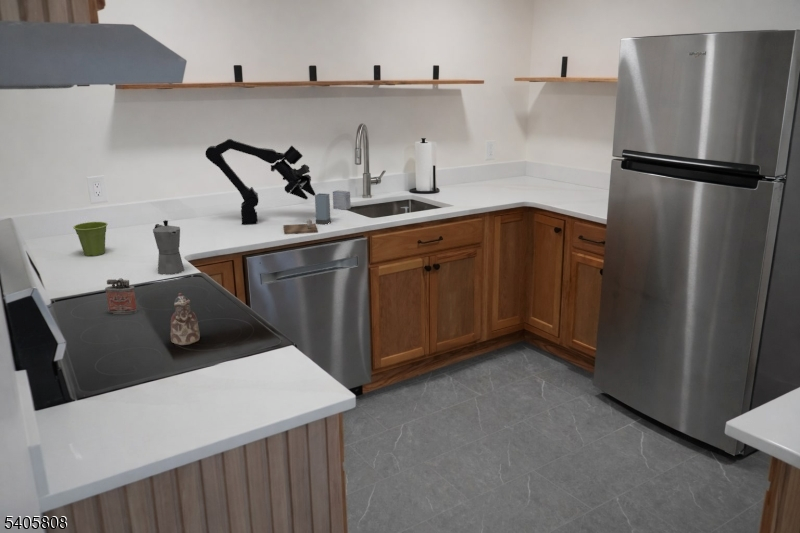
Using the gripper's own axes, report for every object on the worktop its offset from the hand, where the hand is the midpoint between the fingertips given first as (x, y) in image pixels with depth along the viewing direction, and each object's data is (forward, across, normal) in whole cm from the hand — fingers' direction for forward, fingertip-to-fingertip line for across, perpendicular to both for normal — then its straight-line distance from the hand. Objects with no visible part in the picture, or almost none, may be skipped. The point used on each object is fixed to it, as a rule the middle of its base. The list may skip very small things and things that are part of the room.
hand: (311, 196), depth 296 cm
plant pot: (-36, -68, +52) cm, 93 cm away
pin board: (+8, -15, +8) cm, 19 cm away
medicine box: (+11, +32, +6) cm, 34 cm away
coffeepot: (-7, -81, +23) cm, 84 cm away
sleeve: (+12, 0, +4) cm, 13 cm away
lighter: (0, -120, +16) cm, 121 cm away
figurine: (+21, -134, -4) cm, 136 cm away
